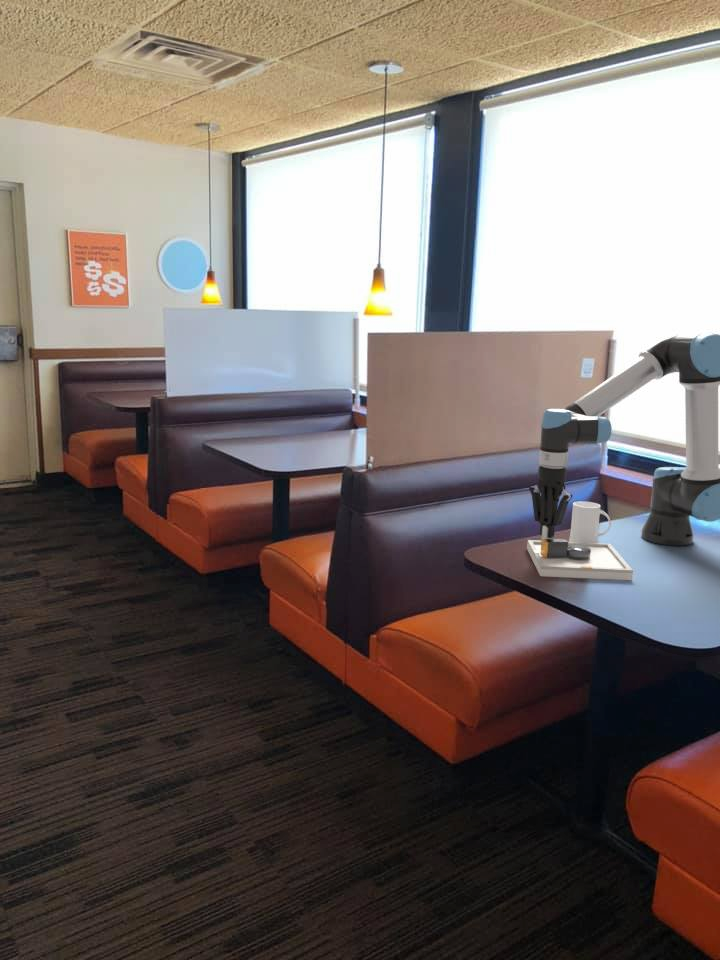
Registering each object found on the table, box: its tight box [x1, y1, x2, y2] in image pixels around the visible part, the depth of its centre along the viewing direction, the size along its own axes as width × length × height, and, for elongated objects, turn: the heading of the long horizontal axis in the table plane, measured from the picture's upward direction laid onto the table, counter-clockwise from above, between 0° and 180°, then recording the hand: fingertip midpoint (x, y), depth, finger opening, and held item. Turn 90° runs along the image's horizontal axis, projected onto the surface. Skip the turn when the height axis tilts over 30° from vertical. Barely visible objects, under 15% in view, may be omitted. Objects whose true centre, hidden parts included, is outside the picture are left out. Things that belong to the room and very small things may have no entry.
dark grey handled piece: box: [541, 538, 591, 559], centre depth 212 cm, size 14×7×4 cm, turn 97°
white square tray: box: [526, 539, 634, 581], centre depth 214 cm, size 24×24×3 cm
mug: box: [568, 500, 612, 543], centre depth 233 cm, size 12×8×12 cm
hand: (545, 547), depth 215 cm, fingers closed
